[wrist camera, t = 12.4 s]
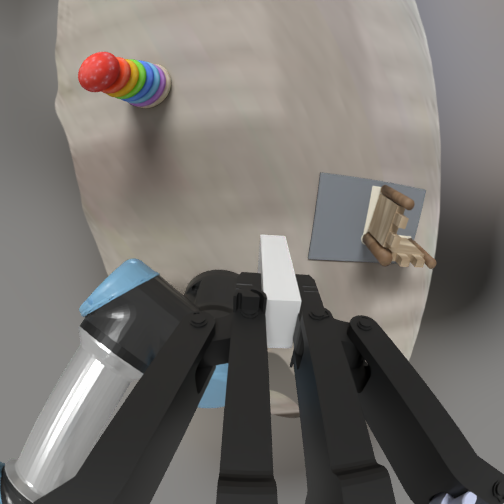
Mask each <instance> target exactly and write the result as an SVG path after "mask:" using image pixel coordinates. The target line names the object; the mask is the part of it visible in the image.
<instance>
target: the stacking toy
mask: <svg viewBox="0 0 504 504" xmlns="http://www.w3.org/2000/svg"><path fill="white" fill-rule="evenodd" d="M78 79H79V82H80V84H81V86H82V87H83V88H84V89H86V90H87V91H90V92H100V91H102V92H104V93H106V94H107V95H109V96H111V97H115V98H118V99H121V100H123V101H126V102H128V103H129V104H131V105H133V106H137V107H140V108H150V107H154V106H156V105H158V104H159V103H161V102H162V101H163V100H164V99H165V98H166V96H167V95H168V93H169V91H170V87H171V77H170V74H169V72H168V71H167V70H166V69H165V68H164V67H163V66H161V65H158V64H151V63H149V62H145V61H140V60H132V59H129V60H128V59H123V58H120V57H115V56H114V55H113V54H111V53H108V52H98V53H95V54H92V55H91V56H89V57H88V58H87V59H86V60H85V61H84V62H83V63H82V65H81V67H80V69H79V73H78Z"/></svg>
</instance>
